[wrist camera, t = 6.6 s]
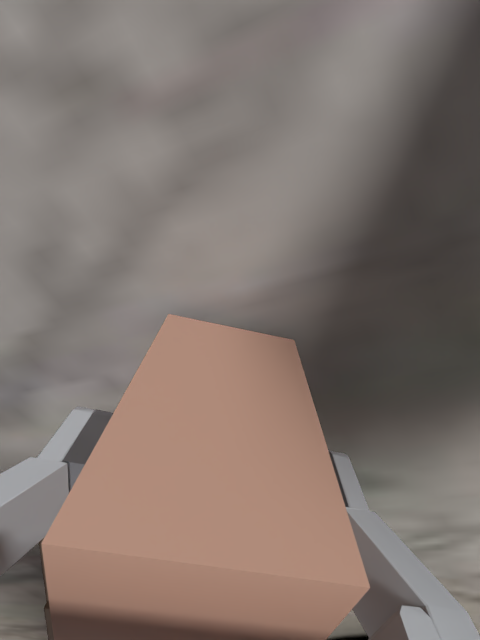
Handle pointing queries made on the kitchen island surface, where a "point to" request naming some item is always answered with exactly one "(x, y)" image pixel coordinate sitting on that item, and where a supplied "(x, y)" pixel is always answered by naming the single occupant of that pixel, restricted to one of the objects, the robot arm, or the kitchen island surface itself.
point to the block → (206, 503)
